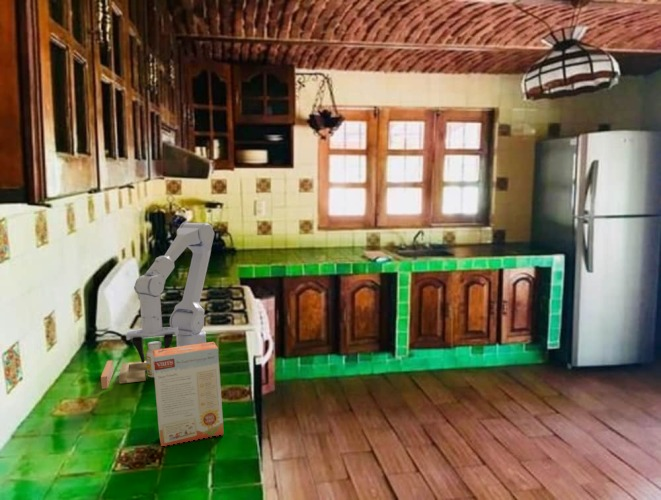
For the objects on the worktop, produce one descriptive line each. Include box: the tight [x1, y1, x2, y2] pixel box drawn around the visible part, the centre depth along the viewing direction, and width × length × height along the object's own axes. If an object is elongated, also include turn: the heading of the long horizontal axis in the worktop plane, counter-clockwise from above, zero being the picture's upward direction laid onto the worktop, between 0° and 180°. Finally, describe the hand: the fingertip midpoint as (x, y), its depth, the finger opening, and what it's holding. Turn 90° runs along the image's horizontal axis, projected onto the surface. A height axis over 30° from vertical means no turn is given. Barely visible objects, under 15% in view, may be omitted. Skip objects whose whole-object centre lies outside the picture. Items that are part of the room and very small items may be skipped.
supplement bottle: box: [145, 340, 163, 378], centre depth 170 cm, size 5×5×10 cm
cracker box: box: [152, 341, 225, 447], centre depth 129 cm, size 14×6×21 cm, turn 110°
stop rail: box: [100, 360, 115, 390], centre depth 167 cm, size 2×14×4 cm, turn 14°
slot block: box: [118, 360, 147, 384], centre depth 169 cm, size 7×10×3 cm
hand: (154, 360), depth 170 cm, fingers open, 6 cm apart
